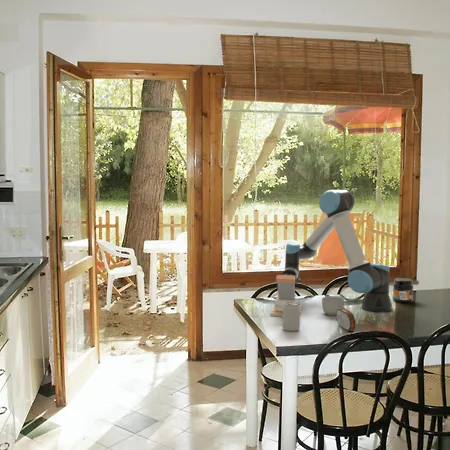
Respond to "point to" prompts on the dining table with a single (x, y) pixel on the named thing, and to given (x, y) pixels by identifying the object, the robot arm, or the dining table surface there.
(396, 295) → the supplement container
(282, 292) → the grey orange box
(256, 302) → the dining table surface
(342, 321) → the tin
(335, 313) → the light grey rounded block
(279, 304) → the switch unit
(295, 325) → the can
